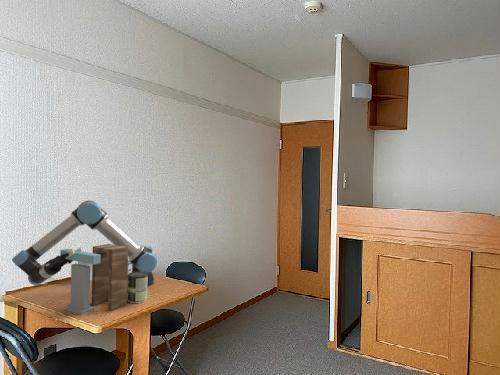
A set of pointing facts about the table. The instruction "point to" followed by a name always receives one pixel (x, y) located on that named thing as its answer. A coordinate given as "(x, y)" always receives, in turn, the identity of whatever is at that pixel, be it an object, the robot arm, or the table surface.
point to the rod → (83, 256)
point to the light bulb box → (129, 267)
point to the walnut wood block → (110, 276)
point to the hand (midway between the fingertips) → (77, 250)
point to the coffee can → (137, 287)
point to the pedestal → (80, 289)
